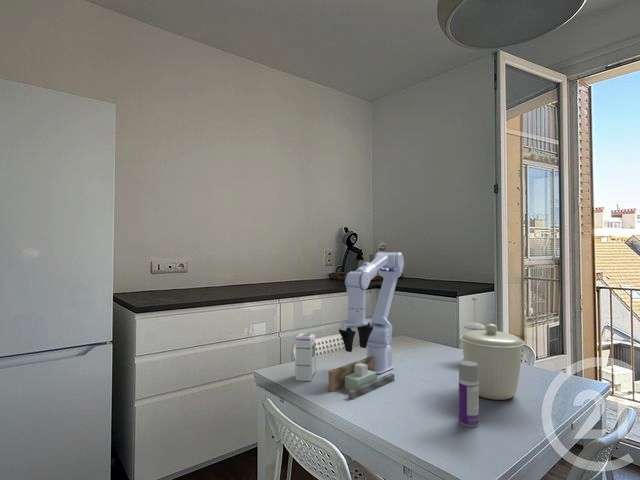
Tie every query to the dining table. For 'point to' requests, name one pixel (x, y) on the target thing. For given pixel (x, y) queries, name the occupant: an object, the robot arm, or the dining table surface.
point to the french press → (473, 324)
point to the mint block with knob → (359, 376)
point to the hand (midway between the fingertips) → (356, 349)
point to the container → (468, 394)
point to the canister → (494, 360)
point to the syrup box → (305, 357)
